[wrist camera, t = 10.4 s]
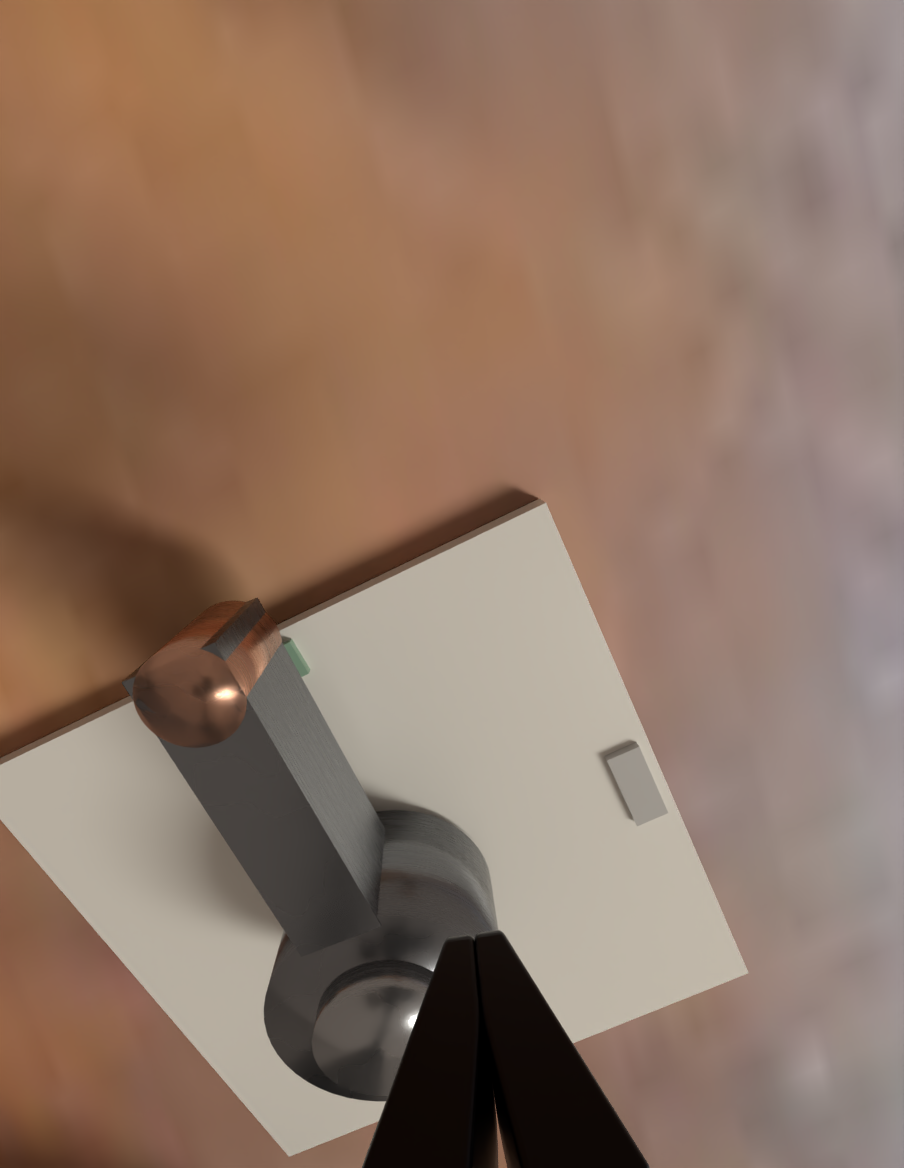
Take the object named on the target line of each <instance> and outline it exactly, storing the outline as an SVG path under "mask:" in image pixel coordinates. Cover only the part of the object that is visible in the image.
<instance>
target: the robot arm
mask: <svg viewBox="0 0 904 1168" xmlns="http://www.w3.org/2000/svg"><path fill="white" fill-rule="evenodd" d="M494 1098H495V1099H494ZM495 1104H496V1109H495ZM496 1111H497V1118H498V1124H499V1129H500V1134H501V1140H502V1145H503V1150H504V1154H505V1159H506V1164H507V1168H649V1165H648V1163H647V1161H646V1160H645V1158H644V1157H643V1155H642V1153H641V1152H640V1150H639V1149H638V1147H637V1145H636V1144H635V1142H634V1141H633V1139H632V1137H631V1136H630V1134H629V1133H628V1131H627V1129H626V1128H625V1126H624V1124H623V1123H622V1121H621V1120H620V1118H619V1116H618V1115H617V1113H616V1112H615V1110H614V1108H613V1107H612V1105H611V1104H610V1102H609V1100H608V1099H607V1097H606V1096H605V1094H604V1092H603V1091H602V1089H601V1088H600V1086H599V1084H598V1083H597V1081H596V1080H595V1078H594V1076H593V1075H592V1073H591V1072H590V1070H589V1068H588V1067H587V1065H586V1064H585V1062H584V1060H583V1059H582V1057H581V1056H580V1054H579V1052H578V1051H577V1049H576V1048H575V1046H574V1044H573V1043H572V1041H571V1040H570V1038H569V1036H568V1035H567V1033H566V1032H565V1030H564V1028H563V1027H562V1025H561V1024H560V1022H559V1020H558V1019H557V1017H556V1016H555V1014H554V1012H553V1011H552V1009H551V1008H550V1006H549V1004H548V1003H547V1001H546V1000H545V998H544V996H543V995H542V993H541V992H540V990H539V988H538V987H537V985H536V984H535V982H534V980H533V979H532V977H531V976H530V974H529V972H528V971H527V969H526V968H525V966H524V964H523V963H522V961H521V960H520V958H519V956H518V955H517V953H516V951H515V950H514V948H513V947H512V945H511V943H510V942H509V940H508V939H507V937H506V936H505V934H504V933H503V932H502V931H500V930H494V931H487V932H480V933H477V934H476V936H475V940H474V937H473V936H472V935H470V934H467V935H460V936H453V937H449V938H447V939H446V940H445V942H444V944H443V947H442V949H441V952H440V955H439V958H438V960H437V963H436V966H435V969H434V971H433V974H432V977H431V980H430V982H429V985H428V988H427V991H426V993H425V996H424V999H423V1001H422V1004H421V1007H420V1010H419V1012H418V1015H417V1018H416V1021H415V1023H414V1026H413V1029H412V1032H411V1034H410V1037H409V1040H408V1043H407V1045H406V1048H405V1051H404V1053H403V1056H402V1059H401V1062H400V1064H399V1067H398V1070H397V1073H396V1075H395V1078H394V1081H393V1084H392V1086H391V1089H390V1092H389V1095H388V1097H387V1100H386V1103H385V1105H384V1108H383V1111H382V1114H381V1116H380V1119H379V1122H378V1125H377V1127H376V1130H375V1133H374V1136H373V1138H372V1141H371V1144H370V1147H369V1149H368V1152H367V1155H366V1157H365V1160H364V1163H363V1166H362V1168H498V1140H497V1120H496Z"/></svg>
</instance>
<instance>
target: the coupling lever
mask: <svg viewBox="0 0 904 1168" xmlns="http://www.w3.org/2000/svg"><path fill="white" fill-rule="evenodd" d="M122 684H123V685H124V687H125V688H126V690H127V692H128V693H129V695H130V696H131V698H132V699H133V701H134V705H135V708H136V711H137V713H138V715H139V717H140V719H141V720H142V721H143V723H144V724H145V725H146V726H147V727H148V728H149V730H151V731H152V732H153V733H154V734H155V735H156V736H157V737H158V739H159V740H160V742H161V743H162V745H163V746H164V748H165V750H166V751H167V753H168V754H169V756H170V757H171V759H172V760H173V762H174V763H175V765H176V766H177V768H178V769H179V771H180V772H181V774H182V775H183V777H184V779H185V780H186V782H187V783H188V785H189V786H190V788H191V789H192V791H193V792H194V794H195V795H196V797H197V798H198V800H199V801H200V803H201V804H202V806H203V808H204V809H205V811H206V812H207V814H208V815H209V817H210V818H211V820H212V821H213V823H214V824H215V826H216V827H217V829H218V830H219V832H220V833H221V835H222V837H223V838H224V840H225V841H226V843H227V844H228V846H229V847H230V849H231V850H232V852H233V853H234V855H235V856H236V858H237V859H238V861H239V862H240V864H241V866H242V867H243V869H244V870H245V872H246V873H247V875H248V876H249V878H250V879H251V881H252V882H253V884H254V885H255V887H256V888H257V890H258V891H259V893H260V895H261V896H262V898H263V899H264V901H265V902H266V904H267V905H268V907H269V908H270V910H271V911H272V913H273V914H274V916H275V917H276V919H277V920H278V922H279V923H280V925H281V927H282V928H283V934H282V938H281V941H280V945H279V948H278V952H277V956H276V959H275V963H274V967H273V970H272V974H271V977H270V981H269V985H268V988H267V992H266V996H265V1002H264V1023H265V1027H266V1032H267V1035H268V1037H269V1040H270V1042H271V1045H272V1046H273V1048H274V1050H275V1051H276V1053H277V1055H278V1056H279V1057H280V1058H281V1059H282V1061H283V1062H284V1063H285V1064H286V1065H287V1066H288V1067H289V1068H290V1069H291V1070H292V1071H293V1072H294V1073H295V1074H297V1075H298V1076H300V1077H301V1078H303V1079H304V1080H305V1081H307V1082H309V1083H310V1084H312V1085H314V1086H316V1087H318V1088H320V1089H322V1090H325V1091H327V1092H330V1093H332V1094H336V1095H339V1096H343V1097H346V1098H352V1099H357V1100H364V1101H377V1102H378V1101H386V1100H387V1097H388V1095H389V1092H390V1089H391V1086H392V1084H393V1081H394V1078H395V1075H396V1073H397V1070H398V1067H399V1064H400V1062H401V1059H402V1056H403V1053H404V1051H405V1048H406V1045H407V1043H408V1040H409V1037H410V1034H411V1032H412V1029H413V1026H414V1023H415V1021H416V1018H417V1015H418V1012H419V1010H420V1007H421V1004H422V1001H423V999H424V996H425V993H426V991H427V988H428V985H429V982H430V980H431V977H432V974H433V971H434V969H435V966H436V963H437V960H438V958H439V955H440V952H441V949H442V947H443V944H444V942H445V940H446V939H447V938H449V937H453V936H460V935H467V934H470V935H472V936H473V937H474V940H475V936H476V934H477V933H480V932H487V931H494V930H498V924H497V917H496V911H495V904H494V897H493V890H492V884H491V877H490V873H489V869H488V866H487V863H486V861H485V858H484V857H483V855H482V853H481V852H480V850H479V848H478V847H477V846H476V845H475V844H474V842H473V841H472V840H471V839H470V838H469V837H468V836H467V835H466V834H464V833H463V832H462V831H461V830H459V829H458V828H456V827H455V826H453V825H452V824H450V823H448V822H446V821H444V820H442V819H439V818H437V817H434V816H431V815H428V814H424V813H420V812H414V811H406V810H387V811H377V812H375V810H374V808H373V806H372V804H371V803H370V801H369V799H368V797H367V795H366V793H365V792H364V790H363V788H362V786H361V784H360V783H359V781H358V779H357V777H356V775H355V773H354V772H353V770H352V768H351V766H350V764H349V763H348V761H347V759H346V757H345V755H344V754H343V752H342V750H341V748H340V746H339V744H338V743H337V741H336V739H335V737H334V735H333V734H332V732H331V730H330V728H329V726H328V725H327V723H326V721H325V719H324V717H323V715H322V714H321V712H320V710H319V708H318V706H317V705H316V703H315V701H314V699H313V697H312V695H311V694H310V692H309V690H308V688H307V686H306V685H305V683H304V681H303V679H302V677H301V676H300V674H299V672H298V670H297V668H296V666H295V665H294V663H293V661H292V659H291V657H290V656H289V654H288V652H287V650H286V648H285V647H284V645H283V643H282V639H281V635H280V631H279V629H278V627H277V625H276V624H275V622H274V621H273V619H272V618H271V617H270V616H269V615H268V614H267V613H266V612H265V610H264V608H263V607H262V605H261V603H260V601H259V599H258V598H255V599H253V600H250V601H248V602H241V601H225V602H220V603H218V604H215V605H213V606H211V607H209V608H208V609H206V610H205V611H204V612H203V613H201V614H200V615H199V616H198V617H197V618H196V619H194V620H193V621H192V622H191V623H190V624H189V625H188V626H186V627H185V628H184V629H183V630H182V631H181V632H179V633H178V634H177V635H176V636H175V637H174V638H172V639H171V640H170V641H169V642H168V643H167V644H165V645H164V646H163V647H162V648H161V649H160V650H158V651H157V652H156V653H155V654H154V655H153V656H152V657H150V658H149V659H148V660H147V661H146V662H145V663H143V664H142V665H141V666H140V667H139V668H138V669H137V670H135V671H134V672H133V673H132V674H131V675H130V676H128V677H127V678H126V679H125V680H124V681H123V682H122Z"/></svg>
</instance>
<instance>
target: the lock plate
mask: <svg viewBox="0 0 904 1168" xmlns="http://www.w3.org/2000/svg"><path fill="white" fill-rule="evenodd" d="M277 627H278V629H279V631H280V635H281V639H282V643H283V645H284V647H285V648H286V650H287V652H288V654H289V656H290V657H291V659H292V661H293V663H294V665H295V666H296V668H297V670H298V672H299V674H300V676H301V677H302V679H303V681H304V683H305V685H306V686H307V688H308V690H309V692H310V694H311V695H312V697H313V699H314V701H315V703H316V705H317V706H318V708H319V710H320V712H321V714H322V715H323V717H324V719H325V721H326V723H327V725H328V726H329V728H330V730H331V732H332V734H333V735H334V737H335V739H336V741H337V743H338V744H339V746H340V748H341V750H342V752H343V754H344V755H345V757H346V759H347V761H348V763H349V764H350V766H351V768H352V770H353V772H354V773H355V775H356V777H357V779H358V781H359V783H360V784H361V786H362V788H363V790H364V792H365V793H366V795H367V797H368V799H369V801H370V803H371V804H372V806H373V808H374V810H375V812H377V811H387V810H406V811H414V812H420V813H424V814H428V815H431V816H434V817H437V818H439V819H442V820H444V821H446V822H448V823H450V824H452V825H453V826H455V827H456V828H458V829H459V830H461V831H462V832H463V833H464V834H466V835H467V836H468V837H469V838H470V839H471V840H472V841H473V842H474V844H475V845H476V846H477V847H478V848H479V850H480V852H481V853H482V855H483V857H484V858H485V861H486V863H487V866H488V869H489V873H490V877H491V884H492V890H493V897H494V904H495V911H496V917H497V924H498V930H500V931H502V932H503V933H504V934H505V936H506V937H507V939H508V940H509V942H510V943H511V945H512V947H513V948H514V950H515V951H516V953H517V955H518V956H519V958H520V960H521V961H522V963H523V964H524V966H525V968H526V969H527V971H528V972H529V974H530V976H531V977H532V979H533V980H534V982H535V984H536V985H537V987H538V988H539V990H540V992H541V993H542V995H543V996H544V998H545V1000H546V1001H547V1003H548V1004H549V1006H550V1008H551V1009H552V1011H553V1012H554V1014H555V1016H556V1017H557V1019H558V1020H559V1022H560V1024H561V1025H562V1027H563V1028H564V1030H565V1032H566V1033H567V1035H568V1036H569V1038H570V1040H571V1041H572V1043H575V1042H577V1041H580V1040H582V1039H585V1038H587V1037H590V1036H592V1035H595V1034H597V1033H600V1032H602V1031H605V1030H607V1029H610V1028H612V1027H615V1026H617V1025H620V1024H622V1023H625V1022H627V1021H630V1020H632V1019H635V1018H637V1017H640V1016H642V1015H645V1014H647V1013H650V1012H652V1011H655V1010H657V1009H660V1008H662V1007H665V1006H667V1005H670V1004H672V1003H675V1002H677V1001H680V1000H682V999H685V998H687V997H690V996H692V995H695V994H697V993H700V992H702V991H705V990H707V989H710V988H712V987H715V986H717V985H720V984H722V983H725V982H727V981H730V980H733V979H735V978H738V977H740V976H743V975H745V974H748V971H747V968H746V966H745V964H744V961H743V959H742V957H741V954H740V952H739V950H738V948H737V945H736V943H735V941H734V938H733V936H732V934H731V931H730V929H729V927H728V924H727V922H726V920H725V917H724V915H723V913H722V910H721V908H720V906H719V903H718V901H717V899H716V896H715V894H714V892H713V890H712V887H711V885H710V883H709V880H708V878H707V876H706V873H705V871H704V869H703V866H702V864H701V862H700V859H699V857H698V855H697V852H696V850H695V848H694V845H693V843H692V841H691V838H690V836H689V834H688V831H687V829H686V827H685V825H684V822H683V820H682V818H681V815H680V813H679V811H678V808H677V806H676V804H675V801H674V799H673V797H672V794H671V792H670V790H669V787H668V785H667V783H666V780H665V778H664V776H663V773H662V771H661V769H660V767H659V764H658V762H657V760H656V757H655V755H654V753H653V750H652V748H651V746H650V743H649V741H648V739H647V736H646V734H645V732H644V729H643V727H642V725H641V722H640V720H639V718H638V715H637V713H636V711H635V708H634V706H633V704H632V702H631V699H630V697H629V695H628V692H627V690H626V688H625V685H624V683H623V681H622V678H621V676H620V674H619V671H618V669H617V667H616V664H615V662H614V660H613V657H612V655H611V653H610V650H609V648H608V646H607V644H606V641H605V639H604V637H603V634H602V632H601V630H600V627H599V625H598V623H597V620H596V618H595V616H594V613H593V611H592V609H591V606H590V604H589V602H588V599H587V597H586V595H585V592H584V590H583V588H582V585H581V583H580V581H579V579H578V576H577V574H576V572H575V569H574V567H573V565H572V562H571V560H570V558H569V555H568V553H567V551H566V548H565V546H564V544H563V541H562V539H561V537H560V534H559V532H558V530H557V527H556V525H555V523H554V520H553V518H552V516H551V514H550V511H549V509H548V507H547V504H546V503H545V502H544V501H542V500H541V499H538V500H535V501H533V502H531V503H529V504H527V505H525V506H523V507H521V508H519V509H517V510H515V511H513V512H510V513H508V514H506V515H504V516H502V517H500V518H498V519H496V520H494V521H492V522H490V523H488V524H486V525H483V526H481V527H479V528H477V529H475V530H473V531H471V532H469V533H467V534H465V535H463V536H461V537H459V538H456V539H454V540H452V541H450V542H448V543H446V544H444V545H442V546H440V547H438V548H436V549H434V550H432V551H429V552H427V553H425V554H423V555H421V556H419V557H417V558H415V559H413V560H411V561H409V562H407V563H405V564H402V565H400V566H398V567H396V568H394V569H392V570H390V571H388V572H386V573H384V574H382V575H380V576H378V577H375V578H373V579H371V580H369V581H367V582H365V583H363V584H361V585H359V586H357V587H355V588H353V589H351V590H348V591H346V592H344V593H342V594H340V595H338V596H336V597H334V598H332V599H330V600H328V601H326V602H324V603H321V604H319V605H317V606H315V607H313V608H311V609H309V610H307V611H305V612H303V613H301V614H299V615H297V616H294V617H292V618H290V619H288V620H286V621H284V622H282V623H280V624H278V625H277ZM0 820H1V821H2V822H3V823H4V824H5V826H6V827H7V828H8V829H9V830H10V831H11V833H12V834H13V835H14V836H15V837H16V838H17V840H18V841H19V842H20V843H21V844H22V845H23V847H24V848H25V849H26V850H27V851H28V852H29V854H30V855H31V856H32V857H33V858H34V859H35V861H36V862H37V863H38V864H39V865H40V866H41V868H42V869H43V870H44V871H45V872H46V873H47V875H48V876H49V877H50V878H51V879H52V880H53V882H54V883H55V884H56V885H57V886H58V887H59V889H60V890H61V891H62V892H63V893H64V894H65V896H66V897H67V898H68V899H69V900H70V901H71V903H72V904H73V905H74V906H75V907H76V908H77V910H78V911H79V912H80V913H81V914H82V915H83V917H84V918H85V919H86V920H87V921H88V922H89V924H90V925H91V926H92V927H93V928H94V929H95V931H96V932H97V933H98V934H99V935H100V936H101V938H102V939H103V940H104V941H105V942H106V943H107V945H108V946H109V947H110V948H111V949H112V950H113V952H114V953H115V954H116V955H117V956H118V957H119V959H120V960H121V961H122V962H123V963H124V964H125V966H126V967H127V968H128V969H129V970H130V971H131V973H132V974H133V975H134V976H135V977H136V978H137V980H138V981H139V982H140V983H141V984H142V985H143V987H144V988H145V989H146V990H147V991H148V992H149V994H150V995H151V996H152V997H153V998H154V999H155V1001H156V1002H157V1003H158V1004H159V1005H160V1006H161V1008H162V1009H163V1010H164V1011H165V1012H166V1014H167V1015H168V1016H169V1017H170V1018H171V1019H172V1021H173V1022H174V1023H175V1024H176V1025H177V1026H178V1028H179V1029H180V1030H181V1031H182V1032H183V1033H184V1035H185V1036H186V1037H187V1038H188V1039H189V1040H190V1042H191V1043H192V1044H193V1045H194V1046H195V1047H196V1049H197V1050H198V1051H199V1052H200V1053H201V1054H202V1056H203V1057H204V1058H205V1059H206V1060H207V1061H208V1063H209V1064H210V1065H211V1066H212V1067H213V1068H214V1070H215V1071H216V1072H217V1073H218V1074H219V1075H220V1077H221V1078H222V1079H223V1080H224V1081H225V1082H226V1084H227V1085H228V1086H229V1087H230V1088H231V1089H232V1091H233V1092H234V1093H235V1094H236V1095H237V1096H238V1098H239V1099H240V1100H241V1101H242V1102H243V1103H244V1105H245V1106H246V1107H247V1108H248V1109H249V1110H250V1112H251V1113H252V1114H253V1115H254V1116H255V1117H256V1119H257V1120H258V1121H259V1122H260V1123H261V1124H262V1126H263V1127H264V1128H265V1129H266V1130H267V1131H268V1133H269V1134H270V1135H271V1136H272V1137H273V1138H274V1140H275V1141H276V1142H277V1143H278V1144H279V1145H280V1147H281V1148H282V1149H283V1150H284V1151H285V1152H286V1154H287V1155H288V1156H289V1157H290V1156H292V1155H295V1154H297V1153H300V1152H302V1151H305V1150H307V1149H310V1148H312V1147H315V1146H317V1145H320V1144H322V1143H325V1142H327V1141H330V1140H332V1139H335V1138H337V1137H340V1136H342V1135H345V1134H347V1133H350V1132H352V1131H355V1130H357V1129H360V1128H362V1127H365V1126H367V1125H370V1124H372V1123H375V1122H377V1121H379V1119H380V1116H381V1114H382V1111H383V1108H384V1105H385V1103H386V1101H378V1102H377V1101H364V1100H357V1099H352V1098H346V1097H343V1096H339V1095H336V1094H332V1093H330V1092H327V1091H325V1090H322V1089H320V1088H318V1087H316V1086H314V1085H312V1084H310V1083H309V1082H307V1081H305V1080H304V1079H303V1078H301V1077H300V1076H298V1075H297V1074H295V1073H294V1072H293V1071H292V1070H291V1069H290V1068H289V1067H288V1066H287V1065H286V1064H285V1063H284V1062H283V1061H282V1059H281V1058H280V1057H279V1056H278V1055H277V1053H276V1051H275V1050H274V1048H273V1046H272V1045H271V1042H270V1040H269V1037H268V1035H267V1032H266V1027H265V1023H264V1002H265V996H266V992H267V988H268V985H269V981H270V977H271V974H272V970H273V967H274V963H275V959H276V956H277V952H278V948H279V945H280V941H281V938H282V934H283V928H282V927H281V925H280V923H279V922H278V920H277V919H276V917H275V916H274V914H273V913H272V911H271V910H270V908H269V907H268V905H267V904H266V902H265V901H264V899H263V898H262V896H261V895H260V893H259V891H258V890H257V888H256V887H255V885H254V884H253V882H252V881H251V879H250V878H249V876H248V875H247V873H246V872H245V870H244V869H243V867H242V866H241V864H240V862H239V861H238V859H237V858H236V856H235V855H234V853H233V852H232V850H231V849H230V847H229V846H228V844H227V843H226V841H225V840H224V838H223V837H222V835H221V833H220V832H219V830H218V829H217V827H216V826H215V824H214V823H213V821H212V820H211V818H210V817H209V815H208V814H207V812H206V811H205V809H204V808H203V806H202V804H201V803H200V801H199V800H198V798H197V797H196V795H195V794H194V792H193V791H192V789H191V788H190V786H189V785H188V783H187V782H186V780H185V779H184V777H183V775H182V774H181V772H180V771H179V769H178V768H177V766H176V765H175V763H174V762H173V760H172V759H171V757H170V756H169V754H168V753H167V751H166V750H165V748H164V746H163V745H162V743H161V742H160V740H159V739H158V737H157V736H156V735H155V734H154V733H153V732H152V731H151V730H149V728H148V727H147V726H146V725H145V724H144V723H143V721H142V720H141V719H140V717H139V715H138V713H137V711H136V708H135V705H134V701H133V699H132V698H131V696H128V697H126V698H124V699H122V700H120V701H118V702H116V703H114V704H112V705H110V706H107V707H105V708H103V709H101V710H99V711H97V712H95V713H93V714H91V715H89V716H87V717H85V718H83V719H80V720H78V721H76V722H74V723H72V724H70V725H68V726H66V727H64V728H62V729H60V730H58V731H56V732H53V733H51V734H49V735H47V736H45V737H43V738H41V739H39V740H37V741H35V742H33V743H31V744H28V745H26V746H24V747H22V748H20V749H18V750H16V751H14V752H12V753H10V754H8V755H6V756H4V757H1V758H0Z"/></svg>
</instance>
